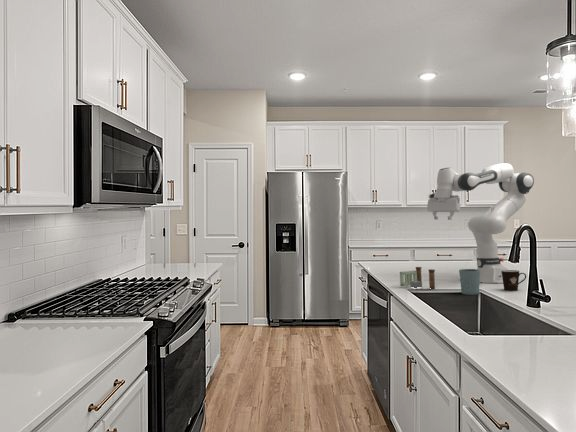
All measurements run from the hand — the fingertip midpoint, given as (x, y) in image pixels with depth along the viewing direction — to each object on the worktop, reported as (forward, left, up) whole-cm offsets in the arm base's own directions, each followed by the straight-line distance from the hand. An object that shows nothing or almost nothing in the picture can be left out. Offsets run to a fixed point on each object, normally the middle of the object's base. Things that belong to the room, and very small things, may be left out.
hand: (442, 219), depth 275 cm
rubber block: (+20, +4, -38) cm, 43 cm away
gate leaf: (+21, -2, -37) cm, 42 cm away
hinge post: (+14, -4, -38) cm, 40 cm away
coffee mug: (-22, +30, -38) cm, 53 cm away
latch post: (+14, +10, -38) cm, 41 cm away
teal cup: (+3, +29, -38) cm, 48 cm away
